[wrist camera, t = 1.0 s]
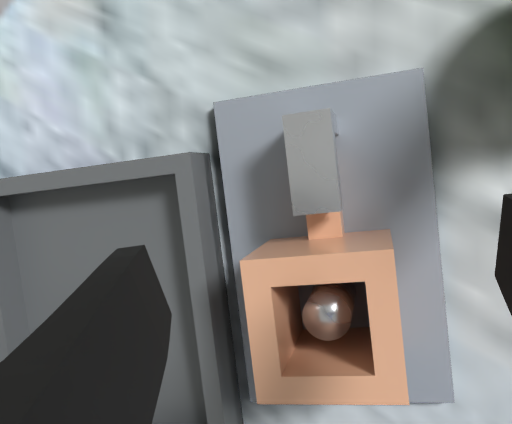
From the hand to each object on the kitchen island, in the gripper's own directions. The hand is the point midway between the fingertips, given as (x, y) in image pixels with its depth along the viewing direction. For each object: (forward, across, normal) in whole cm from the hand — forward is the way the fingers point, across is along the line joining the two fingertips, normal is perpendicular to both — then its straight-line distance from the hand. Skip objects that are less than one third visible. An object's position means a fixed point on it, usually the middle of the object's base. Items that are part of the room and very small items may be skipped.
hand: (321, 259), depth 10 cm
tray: (+10, +10, +9) cm, 17 cm away
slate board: (+9, 0, +7) cm, 12 cm away
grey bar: (+10, -1, +6) cm, 11 cm away
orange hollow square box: (+9, 0, +7) cm, 11 cm away
